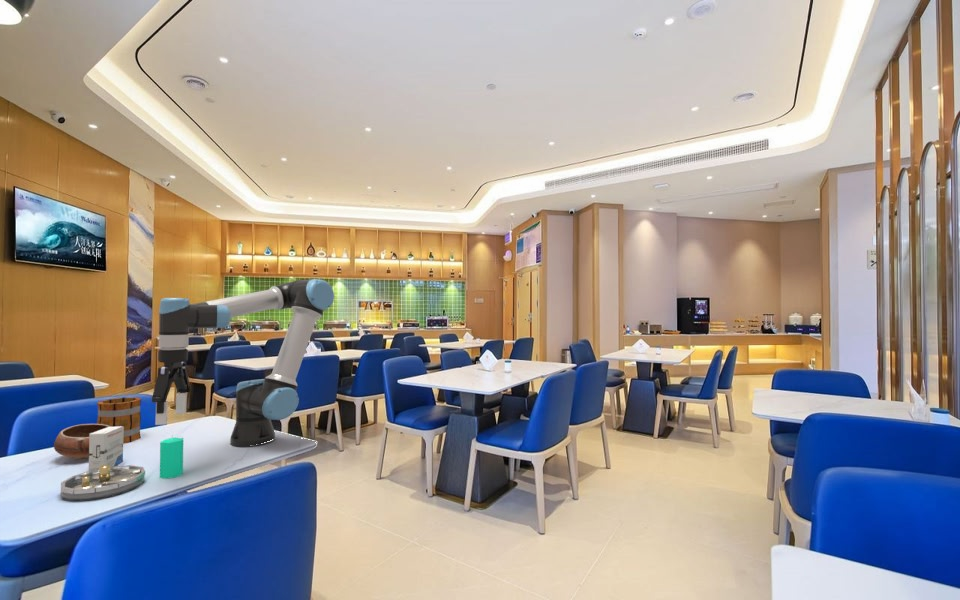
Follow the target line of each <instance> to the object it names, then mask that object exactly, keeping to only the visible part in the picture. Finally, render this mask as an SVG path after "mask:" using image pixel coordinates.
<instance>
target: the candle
mask: <svg viewBox="0 0 960 600" xmlns="http://www.w3.org/2000/svg"><path fill="white" fill-rule="evenodd" d="M183 474H184V438H183V437H181V438H180V437H177V436H176V437H170V438H165V439H163V440H161V441H160V442H159V478H160V479H172V478H176V477H179V476H181V475H183Z"/></svg>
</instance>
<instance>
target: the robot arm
mask: <svg viewBox="0 0 960 600" xmlns="http://www.w3.org/2000/svg"><path fill="white" fill-rule="evenodd" d="M334 300H335V294H334V290H333V288H332V286H331V284H330V283H328V281H326V280H324V279H318V278H313V279H312V278H311V279H296V280H292V281H289V282H284V283H283V284H282V283H281V284H278V285H272V286H271V287H270V288H269V289H266V290H261V291H254V292H249V293H243V294H240V295H233V296H228V297H224V298H219V299H212V300H207V301H204V302H202V301H201V302H196V303H192V304H191V302H190V299H189V298H182V297H163V298H162V299H160V302H159V309H158V317H159V318H158V337H157V338H156V340H157V341H158V348H159V350H158V351H157V352H158V353H157V354H158V355H157V361H158V363H163V366H159V367H158V368H157V377H156V381H155V385H154V389H153V393H152V397H151V403H155V423H154V424H155V425H156V426H160V425H162V426H163V425H167V424H168V412H169V411H168V407H169V406H168V404H169V402H168V401H167V398H168V396H169V394H170V390H171V387H172V385H173V383H174V386H175V389H176V391H177V392H176V395H175V415H187V402H188V401H187V399H188V398H187V396H188V395H187V394H188V393H191V385H190V379H189V375H188V371H187V370H188V368H187V365H188V363H187V362H188V360H189V349H187V348H188V347H189V339H190V338H189V336H190V335H189V334H190V333H189V330H190V329H223V328H226V327H228V326H229V324H230V322H231V319H232V318H237V317H241V316H247V315H251V314H256V313H258V312H265V311H268V310H273V309H274V310H276V311H279V310H284V309H286V310H287V309H291V311H292V312H293V315H292V317H291V319H290V322H289V325H288V328H287V331H286V334H285V337H284V339H283V342H282V345H281V346H280V350H279V353H278V355H277V358H276V360H275V363H274V366H273V369H272V372H271V373H270V374H269V375H267V376H265V378H261V379H251V380H244V381H240V382H237V385H236V388H235V389H236V391H235V395H236V397H235V399H236V400H235V424H234V427H233V430H232V432H231V435H230V441H229V442H230V446H232V447H233V446H234V447H239V446H248V447H251V446H250V445H256V444H261V443H264V442H267V441H270V440H272V439H274V438H275V439H276V432H274V431H275V429H274V426H273V422H272V420H273V421H275V420H276V421H283V420H285V419H287V418H289V417H290V416H291V415H293V414H294V412H295V411H296V410H297V407H298V405H299V401H300V398H299V395H298V392H297V389H298V387H299V386H298V383H297V381H296V379H297V377H298V373H299V371H300V368H301V365H302V363H303V362H302V361H303V360H304V356H305V353H306V350H307V348H308V345H309V342H310V340H311V336H312V335H313V331H314V327H315V325H316V322H317V320H319V319H321V318H323V314H324V312H325V310H326V309H327V310H328V309H329V308H330V307H331V306H332V305H333V303H334ZM275 439H274V440H275Z"/></svg>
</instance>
